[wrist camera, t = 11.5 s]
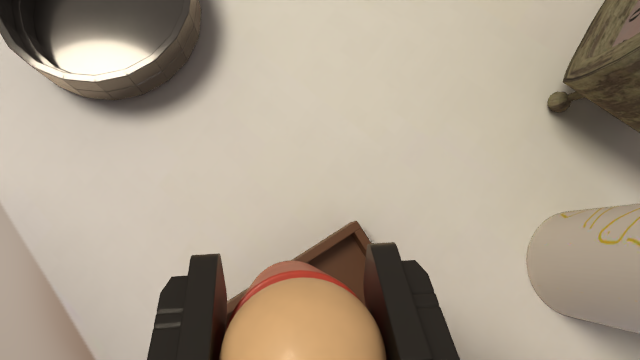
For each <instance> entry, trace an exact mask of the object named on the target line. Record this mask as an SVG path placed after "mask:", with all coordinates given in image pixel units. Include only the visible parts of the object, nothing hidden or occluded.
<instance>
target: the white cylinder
mask: <svg viewBox="0 0 640 360" xmlns="http://www.w3.org/2000/svg"><path fill="white" fill-rule="evenodd" d="M527 269H528V274H529V278H530V281H531V283H532V286H533V288H534V290H535V291H536V293H537V294H538V296H539V297H540V298H541V299H542V300H543V302H545V303H546V304H547V305H548V306H549V307H550V308H552V309H553V310H555V311H557V312H559V313H561V314H563V315H566V316H570V317H574V318H578V319H582V320H586V321H590V322H594V323H598V324H602V325H606V326H610V327H614V328H618V329H622V330H626V331H630V332H634V333H638V334H640V204H632V205H623V206H614V207H604V208H595V209H586V210H577V211H568V212H562V213H559V214H556V215H554V216H552V217H550V218H548V219H547V220H546V221H544V222H543V223H542V224H541V225H540V226H539V227H538V229H537V230H536V231H535V233H534V235H533V236H532V238H531V241H530V244H529V247H528V252H527Z"/></svg>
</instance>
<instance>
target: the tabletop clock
mask: <svg viewBox="0 0 640 360" xmlns="http://www.w3.org/2000/svg"><path fill="white" fill-rule="evenodd" d="M563 83H565V84H566V85H568V86H569V87H571V88H572V89H574V90H575V92H573V93H571V94H569V95H567V94H566V93H565V92H555V93H554V94H552V95H551V96H550V97H549V99H548V106H549V108H550V109H551V110H552V111H554V112H563V111H565V110H566V109H567V108H568V107H569V106H570V103H571V101H573V100H577V99H581V98H585V97H586V98H587V99H589V100H591V101H592V102H594V103H595V104H597V105H598V106H600V107H601V108H603V109H604V110H606V111H607V112H609V113H610V114H612V115H613V116H615V117H616V118H618V119H619V120H621V121H622V122H624V123H626V124H627V125H629V126H630V127H632V128H633V129H635V130H636V131H638V132H639V133H640V0H605V1H604V3H603V5H602V6H601V8H600V10H599V11H598V13H597V14H596V16H595V18H594V19H593V21H592V23H591V24H590V26H589V28H588V30H587V32H586V34H585V35H584V37H583V39H582V41H581V43H580V45H579V46H578V48H577V50H576V52H575V54H574V56H573V58H572V60H571V62H570V63H569V66H568V68H567V70H566V73H565V76H564V79H563Z"/></svg>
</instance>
